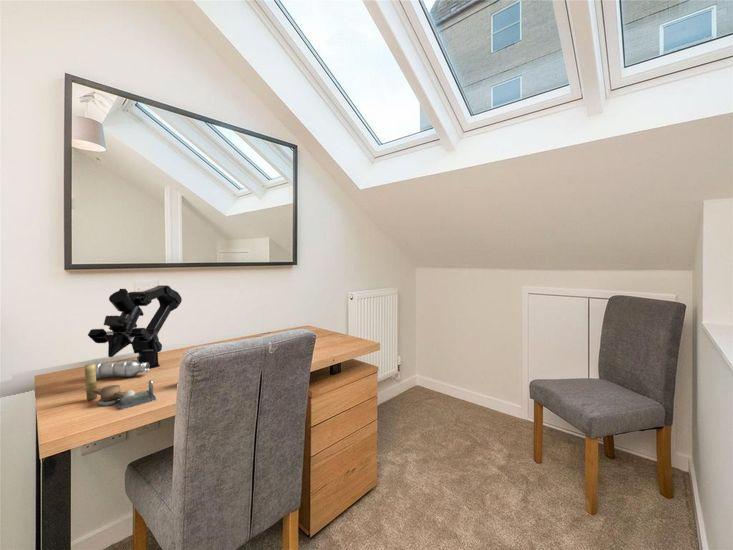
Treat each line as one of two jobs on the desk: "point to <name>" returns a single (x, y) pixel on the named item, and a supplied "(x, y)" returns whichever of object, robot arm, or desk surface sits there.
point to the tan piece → (105, 392)
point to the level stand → (138, 399)
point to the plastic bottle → (120, 368)
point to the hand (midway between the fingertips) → (110, 356)
